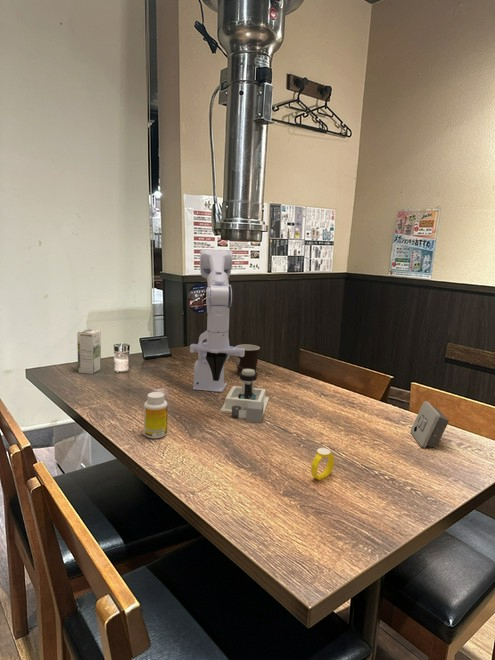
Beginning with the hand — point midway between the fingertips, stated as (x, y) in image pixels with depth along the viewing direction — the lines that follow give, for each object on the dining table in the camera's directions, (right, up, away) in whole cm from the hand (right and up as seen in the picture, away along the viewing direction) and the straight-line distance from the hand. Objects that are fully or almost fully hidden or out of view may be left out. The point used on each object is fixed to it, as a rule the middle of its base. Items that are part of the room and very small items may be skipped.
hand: (216, 379), depth 117 cm
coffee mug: (+8, -2, +40) cm, 41 cm away
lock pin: (+8, -10, +1) cm, 13 cm away
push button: (+9, -8, +10) cm, 16 cm away
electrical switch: (+53, -15, -8) cm, 56 cm away
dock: (+8, -9, +7) cm, 14 cm away
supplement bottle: (-14, -12, -12) cm, 22 cm away
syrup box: (-47, -1, +34) cm, 58 cm away
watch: (+24, -17, -28) cm, 40 cm away
